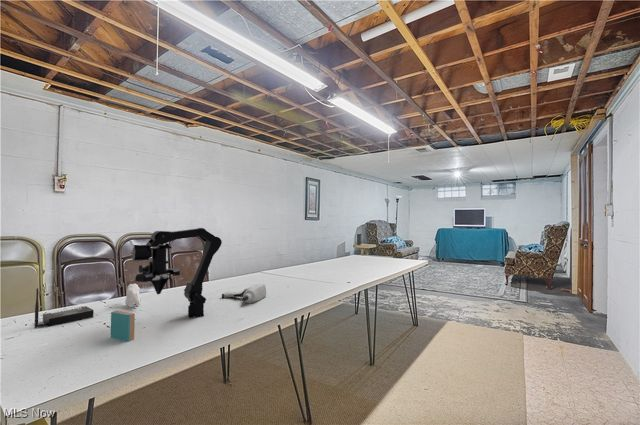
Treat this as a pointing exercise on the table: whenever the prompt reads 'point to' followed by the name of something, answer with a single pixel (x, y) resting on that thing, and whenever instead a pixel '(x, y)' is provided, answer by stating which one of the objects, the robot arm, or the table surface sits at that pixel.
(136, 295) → the white dinosaur figurine
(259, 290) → the impact wrench
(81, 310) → the black l-shaped piece
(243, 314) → the table surface
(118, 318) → the tile
